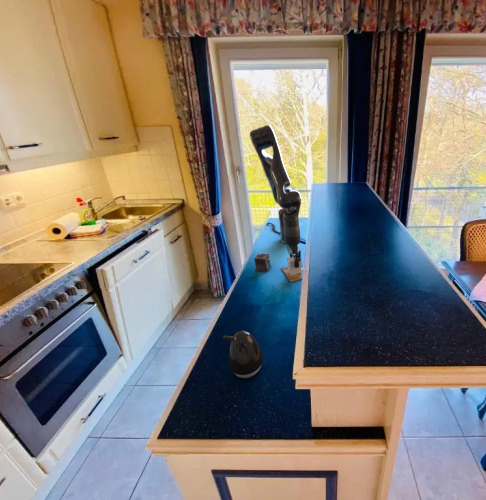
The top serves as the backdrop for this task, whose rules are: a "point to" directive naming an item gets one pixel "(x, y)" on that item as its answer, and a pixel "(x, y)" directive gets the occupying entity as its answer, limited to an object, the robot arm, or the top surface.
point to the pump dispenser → (244, 354)
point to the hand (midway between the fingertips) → (294, 264)
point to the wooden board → (293, 277)
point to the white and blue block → (293, 267)
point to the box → (262, 262)
